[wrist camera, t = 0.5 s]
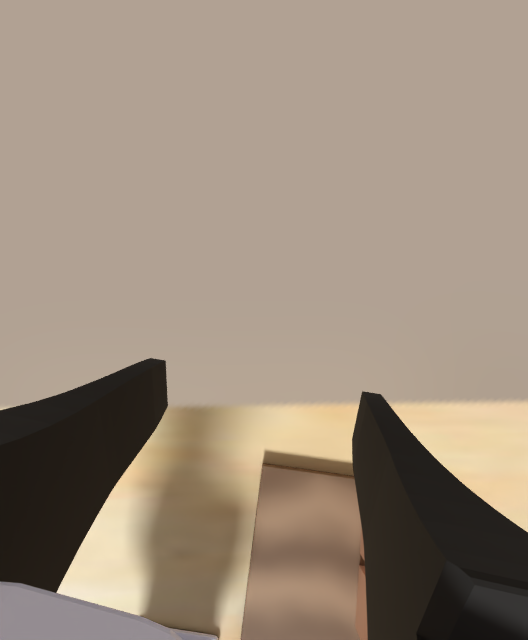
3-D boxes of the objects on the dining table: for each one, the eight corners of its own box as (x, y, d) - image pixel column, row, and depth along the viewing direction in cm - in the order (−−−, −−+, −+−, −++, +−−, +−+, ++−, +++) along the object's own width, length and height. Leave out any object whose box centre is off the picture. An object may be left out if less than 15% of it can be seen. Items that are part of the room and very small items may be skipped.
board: (444, 675, 31) (451, 687, 30) (240, 643, 31) (239, 653, 30) (447, 489, 34) (454, 493, 33) (262, 463, 34) (262, 466, 33)
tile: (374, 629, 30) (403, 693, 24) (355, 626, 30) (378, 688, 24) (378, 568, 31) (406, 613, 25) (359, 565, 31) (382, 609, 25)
